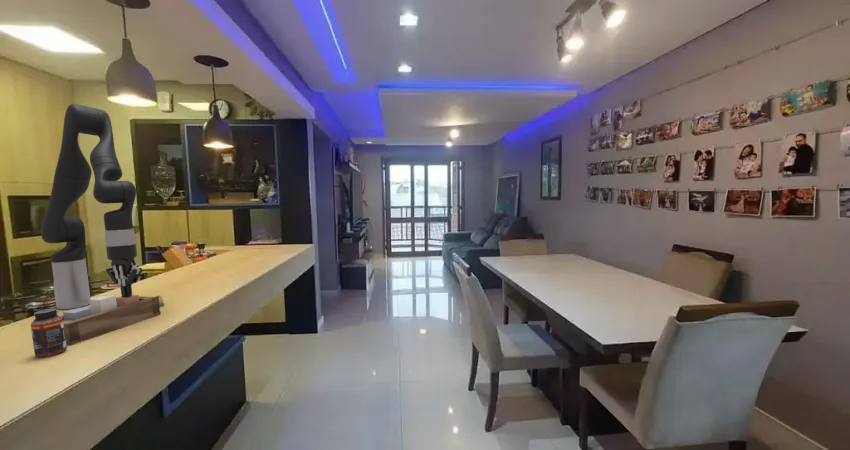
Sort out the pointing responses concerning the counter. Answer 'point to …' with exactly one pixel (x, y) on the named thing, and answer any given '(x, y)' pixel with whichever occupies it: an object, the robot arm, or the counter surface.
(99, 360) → the counter surface
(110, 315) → the brown wooden tray
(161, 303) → the pastry
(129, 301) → the pink block
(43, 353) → the supplement bottle
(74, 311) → the slate key
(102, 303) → the white block
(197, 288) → the counter surface
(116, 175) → the robot arm
